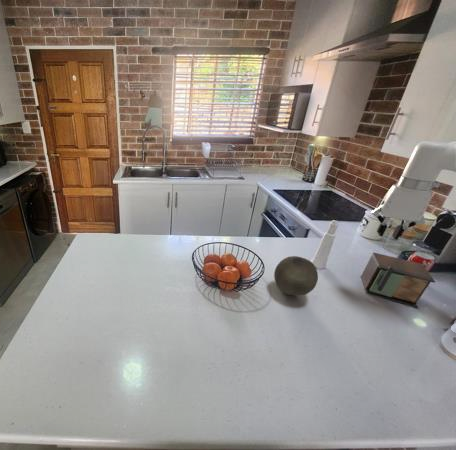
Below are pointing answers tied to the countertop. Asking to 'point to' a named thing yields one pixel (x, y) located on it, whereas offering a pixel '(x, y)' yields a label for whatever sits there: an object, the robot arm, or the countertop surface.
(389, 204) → the robot arm
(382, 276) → the sliding door
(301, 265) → the cantaloupe
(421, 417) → the countertop surface
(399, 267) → the cupboard
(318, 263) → the cosmetic bottle
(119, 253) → the countertop surface
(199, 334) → the countertop surface
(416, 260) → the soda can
